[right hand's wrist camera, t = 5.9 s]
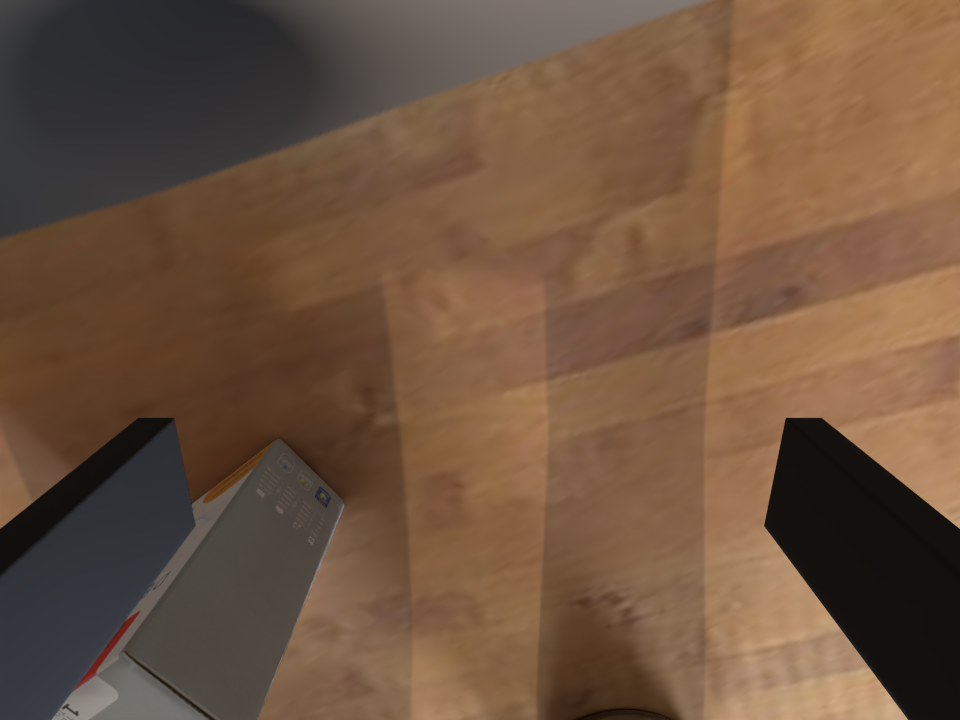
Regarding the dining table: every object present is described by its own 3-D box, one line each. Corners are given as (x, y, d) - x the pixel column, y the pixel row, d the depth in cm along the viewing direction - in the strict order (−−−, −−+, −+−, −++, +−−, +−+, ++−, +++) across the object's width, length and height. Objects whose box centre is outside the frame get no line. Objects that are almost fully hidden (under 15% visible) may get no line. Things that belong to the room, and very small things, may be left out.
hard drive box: (279, 432, 44) (127, 649, 25) (349, 501, 46) (258, 750, 27) (140, 539, 47) (-85, 803, 28) (212, 599, 49) (46, 881, 30)
